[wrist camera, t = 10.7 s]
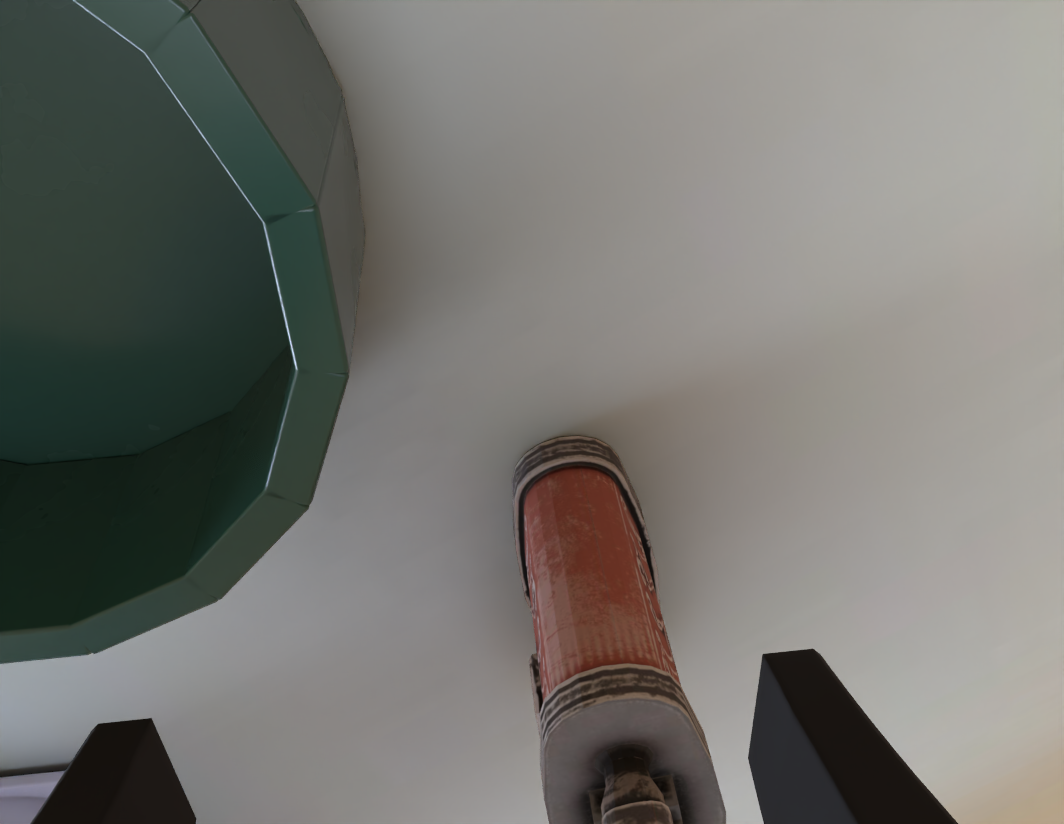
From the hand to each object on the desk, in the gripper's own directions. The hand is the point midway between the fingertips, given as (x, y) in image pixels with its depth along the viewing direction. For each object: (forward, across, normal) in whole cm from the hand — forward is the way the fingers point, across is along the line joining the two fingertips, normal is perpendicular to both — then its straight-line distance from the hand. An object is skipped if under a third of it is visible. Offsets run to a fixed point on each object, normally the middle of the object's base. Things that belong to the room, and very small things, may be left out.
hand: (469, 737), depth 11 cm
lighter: (+11, -3, +8) cm, 13 cm away
